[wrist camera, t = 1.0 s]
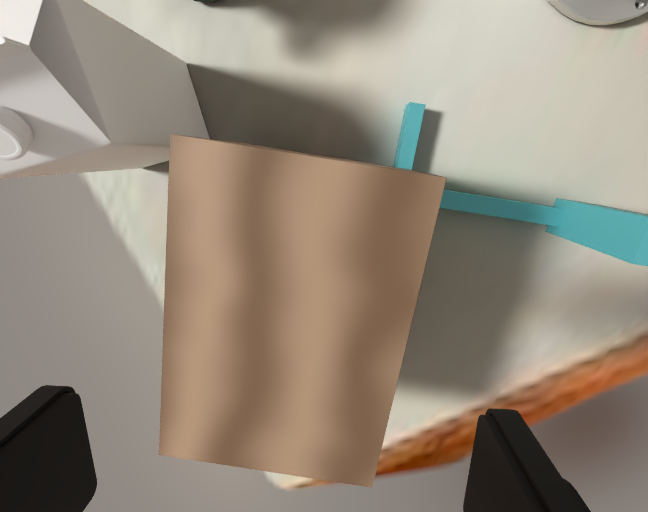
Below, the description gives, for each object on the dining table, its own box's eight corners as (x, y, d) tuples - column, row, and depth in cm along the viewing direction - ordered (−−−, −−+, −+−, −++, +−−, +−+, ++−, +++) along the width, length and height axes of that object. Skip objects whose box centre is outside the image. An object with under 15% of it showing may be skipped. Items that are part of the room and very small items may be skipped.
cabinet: (400, 167, 32) (446, 177, 18) (359, 366, 37) (371, 487, 24) (241, 142, 32) (170, 133, 18) (223, 345, 37) (159, 454, 24)
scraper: (624, 140, 31) (757, 134, 21) (569, 294, 34) (659, 349, 25) (405, 105, 30) (437, 83, 21) (374, 263, 34) (388, 306, 25)
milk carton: (108, 85, 31) (-225, -15, 13) (186, 61, 30) (-46, -80, 12) (139, 168, 33) (-113, 188, 14) (214, 148, 32) (49, 142, 14)
